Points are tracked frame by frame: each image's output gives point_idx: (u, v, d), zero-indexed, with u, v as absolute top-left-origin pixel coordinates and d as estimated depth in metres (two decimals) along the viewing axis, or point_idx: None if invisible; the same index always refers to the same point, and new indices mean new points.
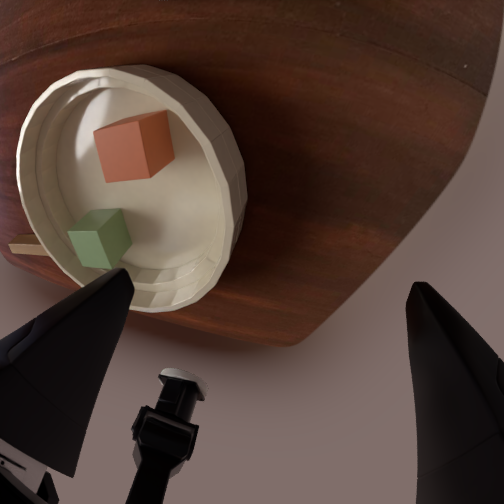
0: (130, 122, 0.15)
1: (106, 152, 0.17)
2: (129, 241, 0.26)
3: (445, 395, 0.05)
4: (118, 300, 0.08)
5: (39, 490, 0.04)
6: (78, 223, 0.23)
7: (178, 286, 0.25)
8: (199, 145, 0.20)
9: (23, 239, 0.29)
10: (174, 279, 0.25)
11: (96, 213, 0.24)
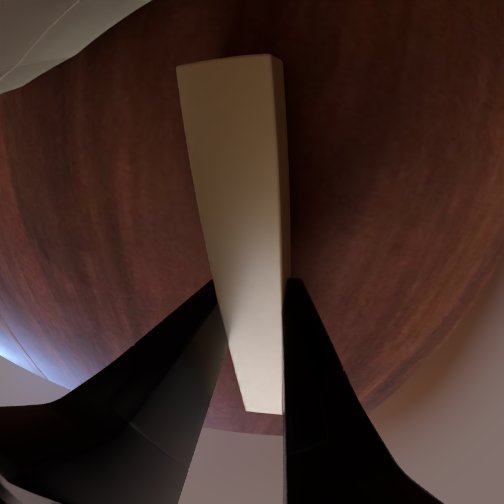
0: None
1: None
2: None
3: None
4: None
5: None
6: None
7: None
8: None
9: None
10: None
11: None
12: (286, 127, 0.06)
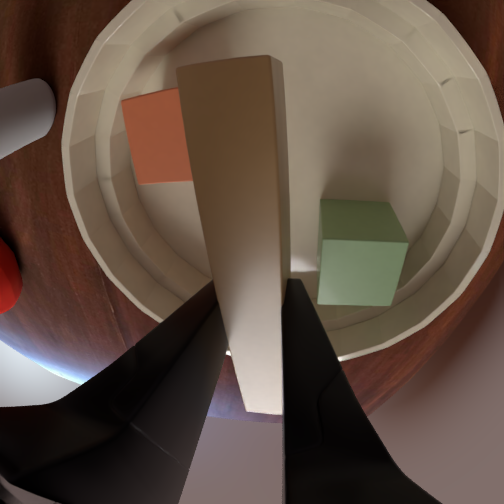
0: (123, 115, 0.10)
1: (167, 164, 0.11)
2: (381, 204, 0.14)
3: None
4: None
5: None
6: (317, 280, 0.15)
7: (468, 126, 0.09)
8: (213, 42, 0.11)
9: None
10: (455, 130, 0.09)
11: (318, 245, 0.16)
12: (286, 128, 0.06)
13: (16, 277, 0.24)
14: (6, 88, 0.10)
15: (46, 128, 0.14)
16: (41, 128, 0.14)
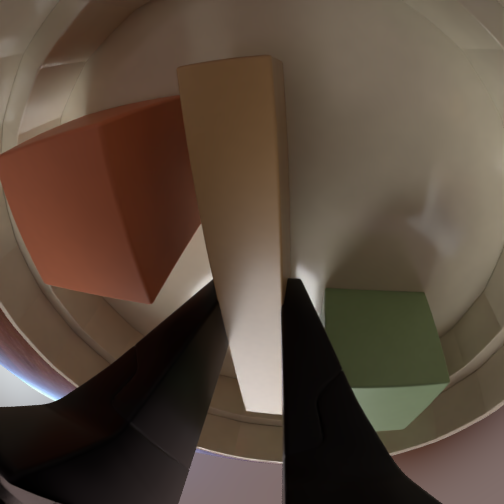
0: (2, 181, 0.05)
1: (68, 267, 0.06)
2: (414, 297, 0.09)
3: None
4: None
5: None
6: None
7: None
8: (155, 31, 0.06)
9: None
10: None
11: None
12: (286, 128, 0.06)
13: None
14: None
15: None
16: None
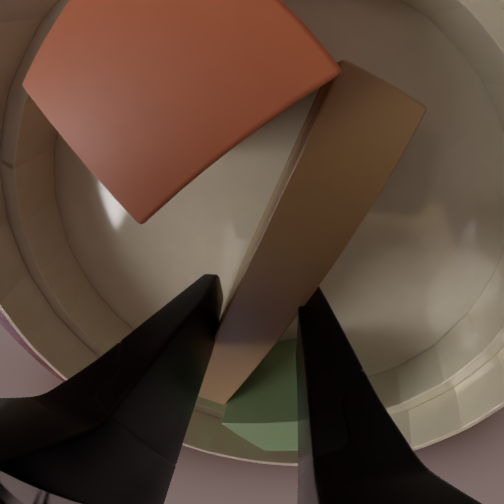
0: None
1: (81, 103, 0.03)
2: None
3: (302, 402, 0.05)
4: (213, 312, 0.08)
5: None
6: (237, 395, 0.11)
7: (409, 406, 0.11)
8: (464, 105, 0.05)
9: None
10: (402, 400, 0.10)
11: (265, 358, 0.12)
12: None
13: None
14: None
15: None
16: None
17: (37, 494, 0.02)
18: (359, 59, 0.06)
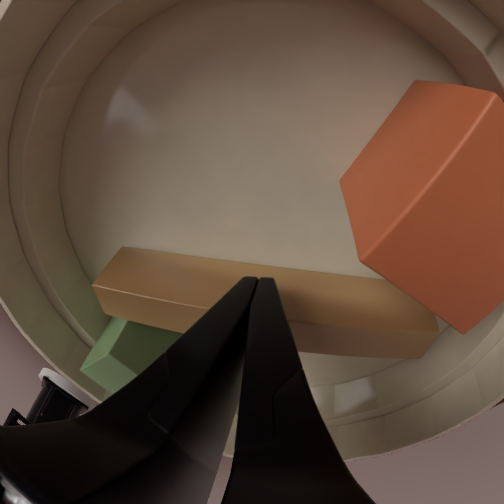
0: None
1: (472, 197, 0.04)
2: None
3: None
4: None
5: None
6: (132, 333, 0.10)
7: None
8: None
9: (188, 279, 0.09)
10: None
11: None
12: None
13: None
14: None
15: None
16: None
17: None
18: None
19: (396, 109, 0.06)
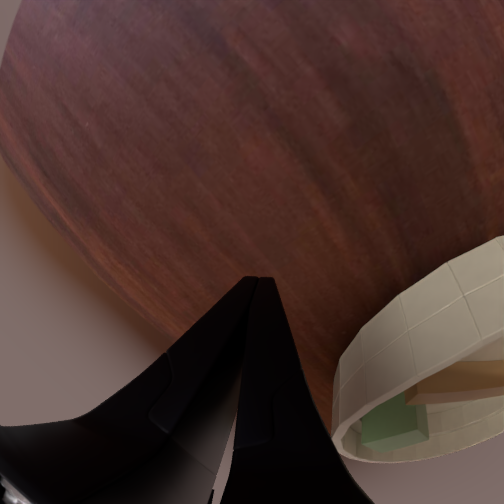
0: None
1: None
2: None
3: None
4: None
5: None
6: (417, 412, 0.14)
7: None
8: None
9: (457, 377, 0.13)
10: None
11: None
12: None
13: None
14: None
15: None
16: None
17: None
18: None
19: None
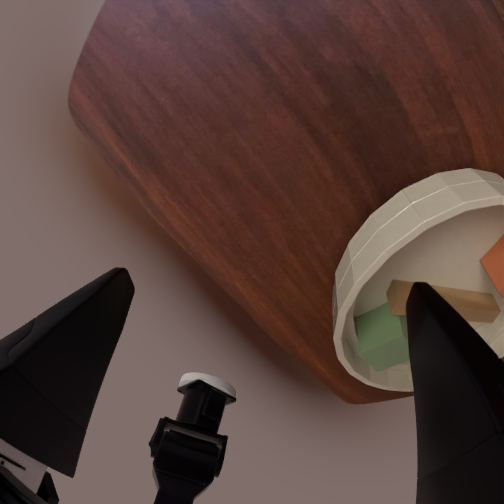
0: None
1: None
2: None
3: (445, 395, 0.05)
4: (118, 300, 0.08)
5: (39, 490, 0.04)
6: (402, 324, 0.20)
7: (390, 367, 0.24)
8: None
9: None
10: None
11: None
12: None
13: None
14: None
15: None
16: None
17: None
18: None
19: (502, 239, 0.16)
